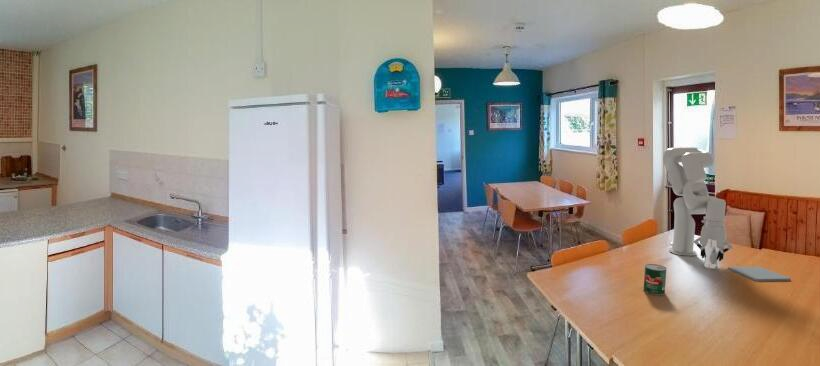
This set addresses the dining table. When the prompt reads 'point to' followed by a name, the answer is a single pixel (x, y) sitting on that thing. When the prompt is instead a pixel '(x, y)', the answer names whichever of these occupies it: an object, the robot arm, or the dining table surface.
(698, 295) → the dining table surface
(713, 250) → the beer glass
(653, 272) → the canned tomato
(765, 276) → the grey mat
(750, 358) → the dining table surface
